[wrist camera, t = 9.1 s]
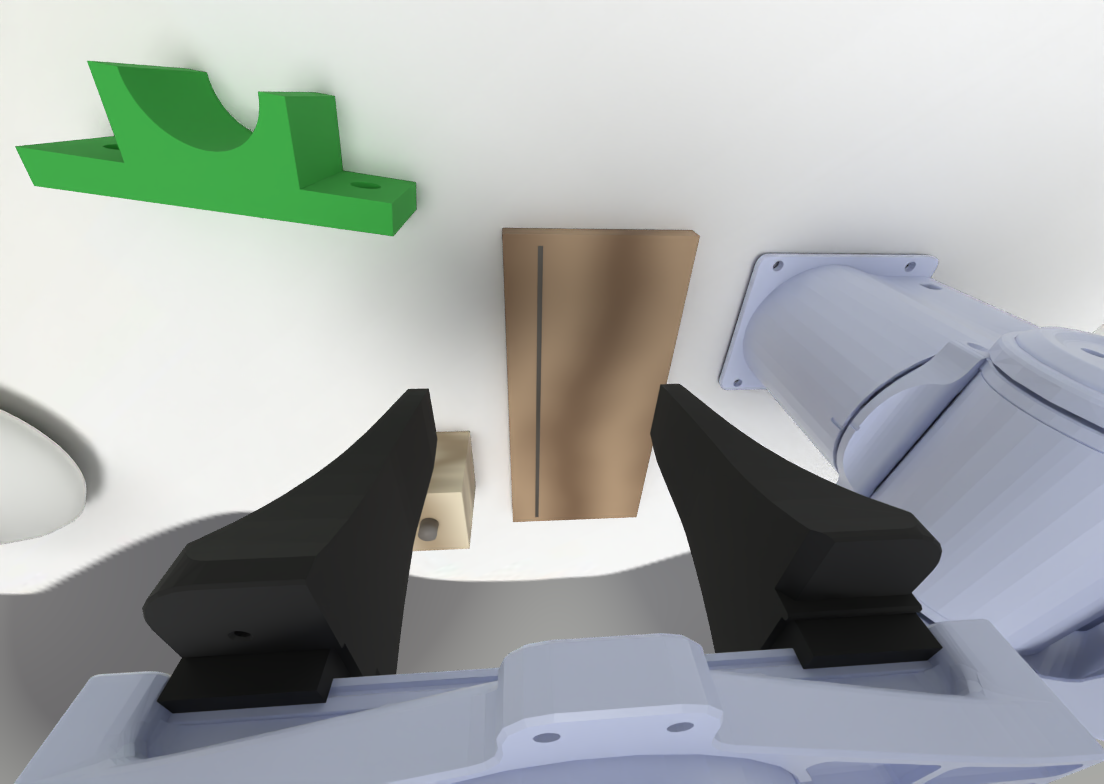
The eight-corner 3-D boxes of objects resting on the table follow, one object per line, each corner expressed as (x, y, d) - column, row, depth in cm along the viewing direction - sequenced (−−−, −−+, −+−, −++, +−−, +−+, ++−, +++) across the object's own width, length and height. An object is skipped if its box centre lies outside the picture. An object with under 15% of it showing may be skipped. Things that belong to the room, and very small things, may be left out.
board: (692, 230, 20) (700, 236, 19) (633, 506, 32) (636, 517, 31) (502, 228, 19) (502, 234, 19) (513, 510, 31) (513, 522, 30)
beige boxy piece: (469, 430, 26) (460, 504, 22) (475, 485, 29) (468, 560, 25) (404, 432, 26) (380, 507, 21) (416, 487, 29) (398, 563, 24)
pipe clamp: (416, 109, 17) (388, 114, 13) (417, 208, 19) (394, 237, 15) (93, 50, 15) (-44, 37, 11) (134, 166, 17) (30, 187, 13)
